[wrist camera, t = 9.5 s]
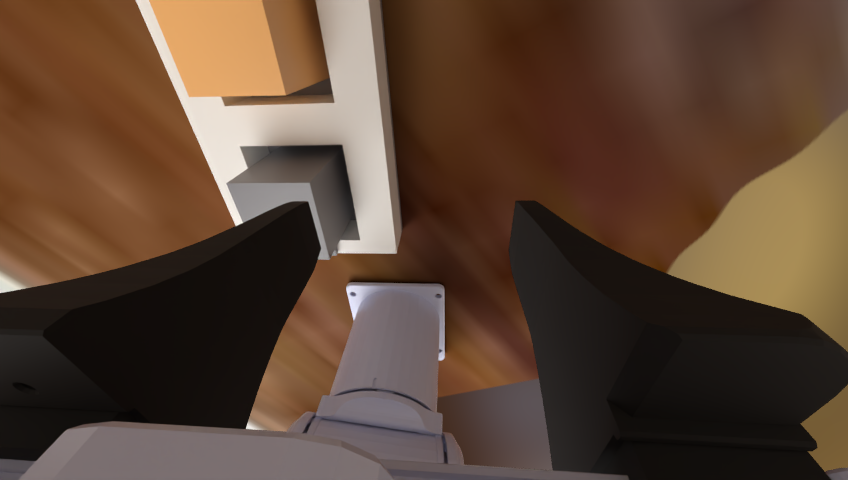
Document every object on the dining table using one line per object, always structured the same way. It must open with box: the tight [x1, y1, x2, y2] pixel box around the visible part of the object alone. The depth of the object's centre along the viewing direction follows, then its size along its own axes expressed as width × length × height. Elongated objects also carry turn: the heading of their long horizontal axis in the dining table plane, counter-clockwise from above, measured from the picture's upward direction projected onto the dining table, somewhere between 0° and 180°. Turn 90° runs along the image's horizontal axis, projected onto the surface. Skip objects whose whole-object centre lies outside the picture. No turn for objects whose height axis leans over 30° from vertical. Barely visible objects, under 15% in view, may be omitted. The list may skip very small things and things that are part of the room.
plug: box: [149, 0, 330, 97], centre depth 13 cm, size 4×4×6 cm
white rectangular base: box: [136, 0, 403, 260], centre depth 16 cm, size 16×10×6 cm, turn 2°
